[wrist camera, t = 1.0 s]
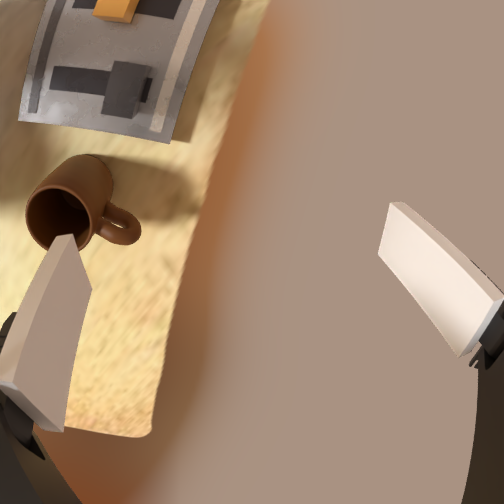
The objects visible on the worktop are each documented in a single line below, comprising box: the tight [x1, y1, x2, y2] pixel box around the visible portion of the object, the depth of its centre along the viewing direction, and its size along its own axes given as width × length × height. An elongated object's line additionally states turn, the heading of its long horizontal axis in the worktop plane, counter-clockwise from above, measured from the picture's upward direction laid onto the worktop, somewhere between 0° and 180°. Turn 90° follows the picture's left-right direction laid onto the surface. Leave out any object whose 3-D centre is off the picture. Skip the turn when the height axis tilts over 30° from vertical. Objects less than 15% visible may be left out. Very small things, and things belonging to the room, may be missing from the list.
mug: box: [25, 155, 141, 251], centre depth 28 cm, size 12×8×9 cm, turn 62°
